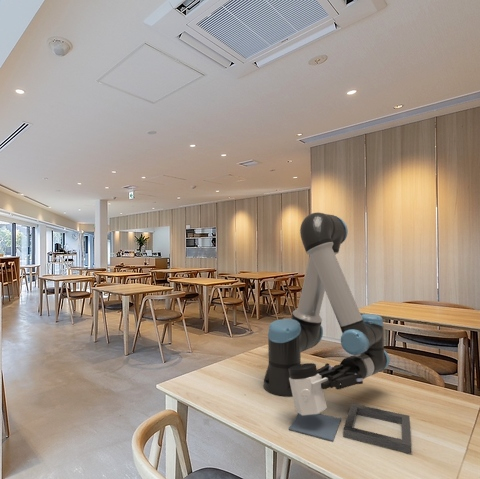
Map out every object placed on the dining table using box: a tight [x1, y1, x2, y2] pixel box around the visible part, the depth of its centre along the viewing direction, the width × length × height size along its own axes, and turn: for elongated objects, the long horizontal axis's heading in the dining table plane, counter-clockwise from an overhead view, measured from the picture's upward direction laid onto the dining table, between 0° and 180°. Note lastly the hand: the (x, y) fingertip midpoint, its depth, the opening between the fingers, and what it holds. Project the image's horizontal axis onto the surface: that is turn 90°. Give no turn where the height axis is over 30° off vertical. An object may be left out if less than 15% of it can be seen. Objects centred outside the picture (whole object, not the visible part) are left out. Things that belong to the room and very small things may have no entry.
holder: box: [342, 403, 412, 455], centre depth 88 cm, size 16×16×2 cm
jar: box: [288, 362, 328, 416], centre depth 92 cm, size 9×8×12 cm
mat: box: [288, 413, 342, 443], centre depth 90 cm, size 12×12×1 cm
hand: (309, 387), depth 88 cm, fingers closed on jar, 1 cm apart
